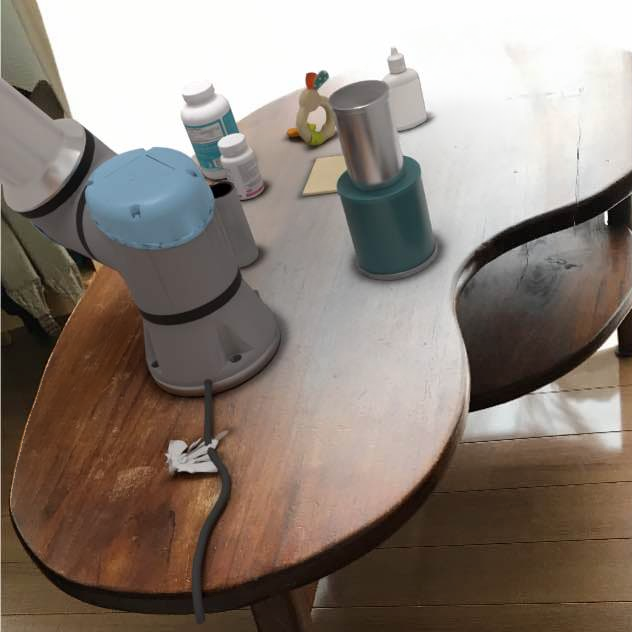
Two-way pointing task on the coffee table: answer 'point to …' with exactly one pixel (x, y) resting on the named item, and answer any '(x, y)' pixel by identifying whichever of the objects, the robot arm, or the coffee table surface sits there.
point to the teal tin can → (390, 225)
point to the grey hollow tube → (234, 222)
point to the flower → (191, 456)
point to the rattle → (310, 103)
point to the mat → (325, 175)
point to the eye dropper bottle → (404, 93)
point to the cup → (368, 134)
